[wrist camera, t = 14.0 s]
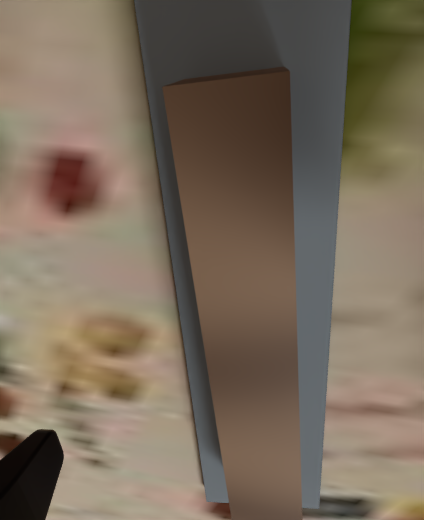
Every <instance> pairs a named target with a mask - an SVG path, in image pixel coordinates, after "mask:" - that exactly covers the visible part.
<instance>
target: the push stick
mask: <svg viewBox="0 0 424 520" xmlns="http://www.w3.org/2000/svg"><path fill="white" fill-rule="evenodd" d="M162 89H163V95H164V101H165V107H166V113H167V120H168V126H169V132H170V138H171V145H172V151H173V157H174V163H175V169H176V176H177V182H178V188H179V194H180V201H181V207H182V213H183V219H184V225H185V232H186V238H187V244H188V250H189V257H190V263H191V269H192V275H193V281H194V288H195V294H196V300H197V306H198V313H199V319H200V325H201V331H202V337H203V344H204V350H205V356H206V362H207V369H208V375H209V381H210V387H211V393H212V400H213V406H214V412H215V418H216V425H217V431H218V437H219V443H220V449H221V456H222V462H223V468H224V474H225V481H226V487H227V493H228V499H229V506H230V512H231V518H232V520H302V488H301V452H300V416H299V380H298V344H297V308H296V272H295V236H294V200H293V163H292V127H291V91H290V71H289V70H288V69H287V68H285V67H277V68H269V69H261V70H253V71H245V72H237V73H229V74H221V75H213V76H205V77H197V78H189V79H183V80H180V81H177V82H175V83H172V84H169V85H166V86H163V87H162Z"/></svg>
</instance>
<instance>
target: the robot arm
mask: <svg viewBox="0 0 424 520" xmlns="http://www.w3.org/2000/svg"><path fill="white" fill-rule="evenodd" d="M63 459H64V454H63V450H62V447H61V444H60V442H59V439H58V436H57V434H56V432H55V431H54V430H46V429H40V430H37V431H35V432H33V433H32V434H31V435H30V436H29V437H27V438H26V439H25V440H24V441H23V442H21V443H20V444H19V445H18V446H17V447H15V448H14V449H13V450H12V451H11V452H9V453H8V454H7V455H6V456H5V457H4V458H2V459H1V460H0V520H45V519H46V516H47V513H48V509H49V506H50V503H51V500H52V496H53V493H54V490H55V487H56V483H57V480H58V477H59V474H60V470H61V467H62V464H63Z"/></svg>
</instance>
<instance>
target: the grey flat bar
mask: <svg viewBox="0 0 424 520" xmlns="http://www.w3.org/2000/svg"><path fill="white" fill-rule="evenodd" d="M134 3H135V10H136V17H137V23H138V30H139V37H140V44H141V51H142V58H143V65H144V72H145V79H146V86H147V93H148V99H149V106H150V113H151V120H152V127H153V134H154V141H155V148H156V155H157V162H158V169H159V175H160V182H161V189H162V196H163V203H164V210H165V217H166V224H167V231H168V238H169V245H170V252H171V258H172V265H173V272H174V279H175V286H176V293H177V300H178V307H179V314H180V321H181V328H182V334H183V341H184V348H185V355H186V362H187V369H188V376H189V383H190V390H191V397H192V404H193V410H194V417H195V424H196V431H197V438H198V445H199V452H200V459H201V466H202V473H203V480H204V487H205V493H206V500H207V502H221V503H229V499H228V493H227V487H226V481H225V474H224V468H223V462H222V456H221V449H220V443H219V437H218V431H217V425H216V418H215V412H214V406H213V400H212V393H211V387H210V381H209V375H208V369H207V362H206V356H205V350H204V344H203V337H202V331H201V325H200V319H199V313H198V306H197V300H196V294H195V288H194V281H193V275H192V269H191V263H190V257H189V250H188V244H187V238H186V232H185V225H184V219H183V213H182V207H181V201H180V194H179V188H178V182H177V176H176V169H175V163H174V157H173V151H172V145H171V138H170V132H169V126H168V120H167V113H166V107H165V101H164V95H163V89H162V87H163V86H166V85H169V84H172V83H175V82H177V81H180V80H183V79H189V78H197V77H205V76H213V75H221V74H229V73H237V72H245V71H253V70H261V69H269V68H277V67H285V68H287V69H288V70H289V71H290V91H291V127H292V163H293V200H294V236H295V272H296V308H297V344H298V380H299V416H300V452H301V488H302V508H315V509H319V501H320V485H321V469H322V454H323V438H324V422H325V407H326V391H327V375H328V360H329V344H330V328H331V313H332V297H333V281H334V266H335V250H336V234H337V219H338V203H339V187H340V172H341V156H342V140H343V125H344V109H345V93H346V78H347V62H348V46H349V30H350V15H351V0H134Z"/></svg>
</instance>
